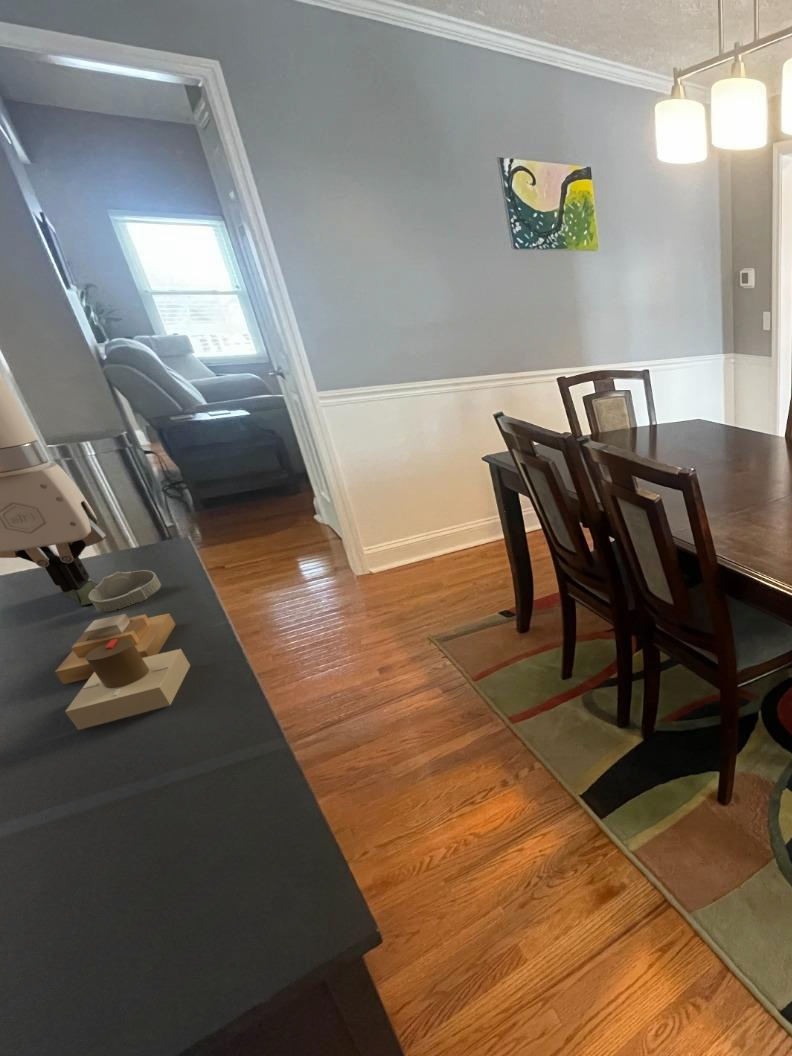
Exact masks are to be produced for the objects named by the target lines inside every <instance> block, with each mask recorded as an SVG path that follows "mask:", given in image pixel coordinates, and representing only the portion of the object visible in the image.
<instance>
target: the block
mask: <svg viewBox="0 0 792 1056" xmlns="http://www.w3.org/2000/svg"><path fill="white" fill-rule="evenodd" d="M128 619H129V621H130V622H131V623H130V625H129V626H128V627H127V629H126V630H125V631H124V633H120V634H116V635H111V636H107V637H102V638H98V639H94V640H89V639H88V637H87V636H86V634H85V633H84V632H83V633H82V634H81V636H80V637H79V638H78V639H77V640H76V641H75V643H74V644H73V645H72V646H71V650H72V651H71V652H70V653H69V654H68V656H67V657H66V658H65V659H64V660H63V661H62V663H60V665H59V666H58V667H57V669H55V671H54V673H55V675H56V676H57V678H58V679H59V681H60V682H61V683H62V684H63V685H67V684H70V683H75V682H78V681H79V682H80V681H84V680H89V679H90V677H91V676H92V674H93V673H94V670H93V669H92V667H91V666H90V664H89V663H88V661H87V660H86V658H85V657H86V655H87V654H88V653H89V652H90V651H92V650H93V649H95V648H97V647H99V646H102V645H104V644H107V643H109V642H110V641H111V640H114V639H117V640H118V641H119V640H130V641H132V642H133V644H134V646H135V647H136V649H137V651H138V652H139V654H140V655H141V657H142V658H144V657H149V656H153V655H157V654H160V651H161V650H162V648H163V646H164V644H165V643H166V641H167V640H168V638H169V637H170V635H171V634H172V632H173V630H174V628H175V626H176V625H177V624H176V622H175V621H174V618H173V617H172V616H171V614H170V612H169V613H163V614H159V615H155V616H151V617H148V616H147V614H146V613H145V614H141V615H136V616H130V617H128Z"/></svg>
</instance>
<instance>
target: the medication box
mask: <svg viewBox="0 0 792 1056" xmlns="http://www.w3.org/2000/svg"><path fill="white" fill-rule="evenodd" d="M96 586H97V585H96V582H95V580H93V579H92V578H90V577H89V579H88V582H87V583H86V584H85V585H84V586H83V587H82V588H81V589H80V590H71V591H69V592H63V591H62V589H61V587H60V586H58V589H59V590H60V591H61V592H63V593H64V594H65V595H66V596H68V597H69V598H70V599H72V600H73V601H74V602H76V603H77V604H78V605H80V606H81V607H85V606H90V605H93V603H92V602H91V600H90V599H89V597H88V596H89V593H90V592H91V591H92V590H93V589H96V588H95V587H96Z"/></svg>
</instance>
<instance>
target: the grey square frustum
mask: <svg viewBox="0 0 792 1056" xmlns="http://www.w3.org/2000/svg"><path fill="white" fill-rule="evenodd" d="M128 618H129V617H128V615H127V614H126V613H122V614H118V615H113V616H109V617H104V618H99V619H95V620H93V621H92V622H91V623H90V624H89V625H88V627H87V628H86V629H85V630H84V631H83V633H85V634H86V636H87V637H88V639H89V640H94V639H98V638H102V637H107V636H111V635H116V634H120V633H124V631H125V630H126V629H127V627H128V626H129V625H130V623H131V622H130V621H129V619H128Z"/></svg>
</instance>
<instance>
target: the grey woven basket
mask: <svg viewBox="0 0 792 1056" xmlns="http://www.w3.org/2000/svg"><path fill="white" fill-rule="evenodd" d="M143 584H144V585H143ZM140 585H142V586H140ZM161 586H162V584H161V582H160V580H159V578H158V577H157V575H156V573H155V572H154V571H152V570H148V569H141V570H134V571H126V572H124V571H123V572H120V571H116V572H114V573H113V574H110V575H108V576H104V577H102V578H101V580H100V582H99V583H98V584H97V585H96V587H95V588H96V589H93V590H92V591H91V592H90V593H89V596H88V597H89V599H90V600H91V602H92V603H93V604H92V605H93V607H94V608H95V610H97V611H98V612H103V613H108V612H114V611H115V612H116V611H118V610H117V609H119V610H123V609H125V608H124V607H126V608H128V607H127V606H129V607H131V606H133V605H132V604H134V605H136V604H137V603H136V602H140V603H142V602H144V601H143V600H145V601H147V600H148V599H147V598H149V597H151V596H152V595H154V594H156V592H158V591H159V590H160V589H161ZM146 599H147V600H146ZM141 601H142V602H141ZM135 603H136V604H135ZM130 605H131V606H130ZM122 608H123V609H122Z"/></svg>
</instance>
